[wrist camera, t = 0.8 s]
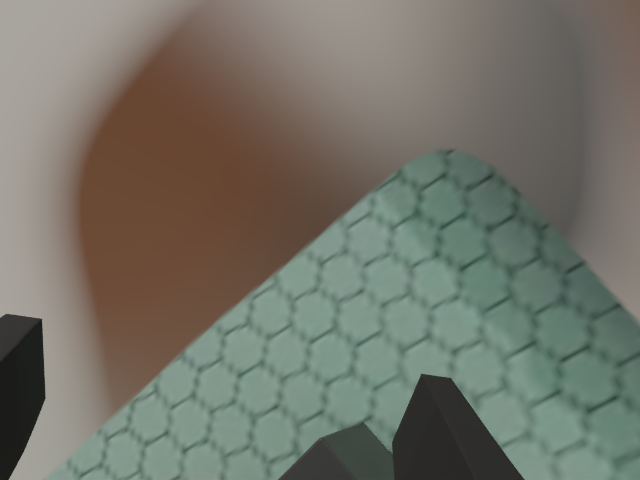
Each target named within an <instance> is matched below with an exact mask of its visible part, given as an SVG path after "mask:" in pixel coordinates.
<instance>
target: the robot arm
mask: <svg viewBox="0 0 640 480" xmlns="http://www.w3.org/2000/svg"><path fill="white" fill-rule="evenodd" d="M43 356H44V355H43V333H42V319H39V318H32V317H25V316H18V315H10V314H6V315H4V316H2V317H1V318H0V480H9V478H10V476H11V474H12V472H13V471H14V469H15V467H16V465H17V463H18V461H19V459H20V458H21V456H22V454H23V452H24V450H25V447H26V445H27V443H28V440H29V438H30V436H31V433H32V431H33V428H34V426H35V424H36V421H37V418H38V416H39V413H40V411H41V408H42V406H43V403H44V401H45V378H44V357H43ZM392 447H393V466H394V480H524V478H523V477H522V476H521V475H520V473H519V472H518V471H517V469H516V468H515V467H514V465H513V464H512V463H511V461H510V460H509V459H508V457H507V456H506V455H505V453H504V452H503V451H502V449H501V448H500V446H499V445H498V444H497V442H496V441H495V440H494V438H493V437H492V435H491V434H490V433H489V431H488V430H487V428H486V427H485V426H484V424H483V423H482V421H481V420H480V419H479V417H478V416H477V414H476V413H475V411H474V410H473V409H472V407H471V406H470V404H469V403H468V402H467V400H466V399H465V397H464V396H463V394H462V393H461V392H460V390H459V389H458V387H457V386H456V385H455V383H454V382H453V381H452V379H451V378H446V377H439V376H432V375H425V374H421V376H420V379H419V381H418V383H417V386H416V388H415V390H414V393H413V395H412V397H411V400H410V402H409V404H408V407H407V409H406V411H405V414H404V416H403V418H402V421H401V423H400V425H399V428H398V430H397V432H396V435H395V437H394V439H393V442H392Z"/></svg>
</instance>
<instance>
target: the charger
mask: <svg viewBox="0 0 640 480" xmlns="http://www.w3.org/2000/svg"><path fill="white" fill-rule="evenodd" d="M278 480H394V466H393V455H392V454H391V453H390V452H389V451H388V450H387V449H386V447H385V446H384V445H383V444H382V443H381V442H380V441H379V440H378V438H377V437H376V436H375V435H374V434H373V433H372V432H371V430H370V429H369V428H368V427H367V426H366V425H365V424H364V423H363V422H362V423H360V424H357V425H354V426H352V427H349V428H346V429H343V430H341V431H338V432H335V433H333V434H330V435H327V436H324V437H322V438H319V439H318V440H317V441H316V442H315V443H314V444H313V445H312V446H311V447H310V448H309V449H308V450H307V451H306V452H305V453H304V454H303V455H302V456H301V457H300V458H299V459H298V460H297V461H296V462H295V463H294V464H293V465H292V466H291V467H290V468H289V469H288V470H287V471H286V472H285V473H284V474H283V475H282V476H281V477H280V478H279V479H278Z"/></svg>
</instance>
